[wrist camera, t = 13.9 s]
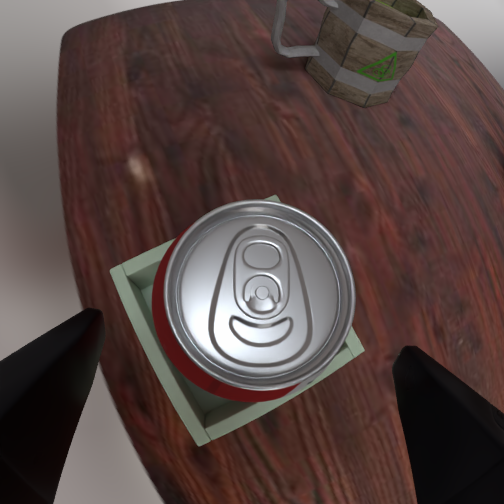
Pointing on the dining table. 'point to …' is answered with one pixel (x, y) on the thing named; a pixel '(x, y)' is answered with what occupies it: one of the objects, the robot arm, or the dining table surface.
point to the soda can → (253, 300)
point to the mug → (361, 46)
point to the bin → (173, 381)
